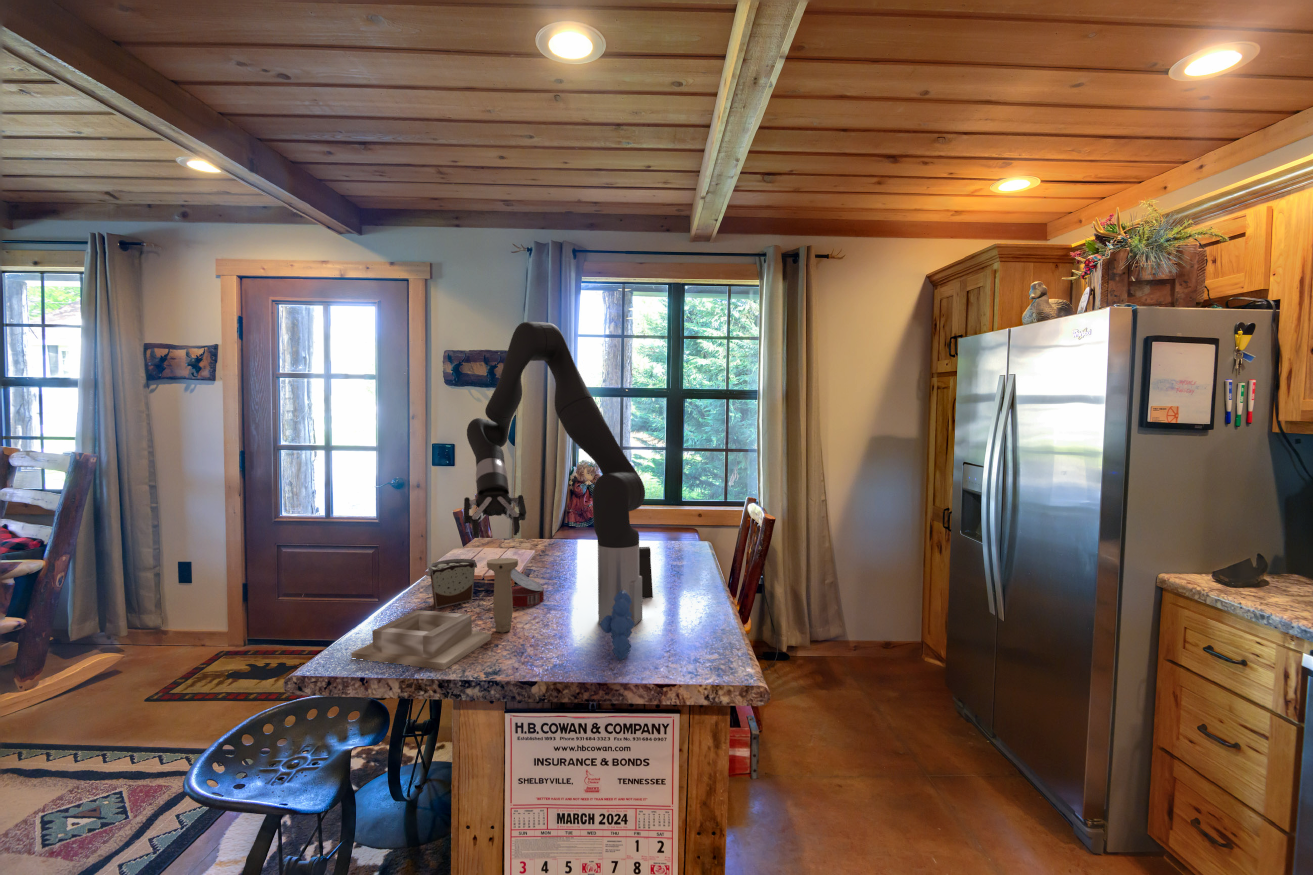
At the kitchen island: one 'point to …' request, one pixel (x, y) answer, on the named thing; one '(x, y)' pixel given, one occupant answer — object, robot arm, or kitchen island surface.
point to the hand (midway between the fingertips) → (496, 534)
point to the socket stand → (424, 640)
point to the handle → (502, 592)
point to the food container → (452, 581)
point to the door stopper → (645, 571)
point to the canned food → (525, 590)
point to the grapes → (619, 624)
